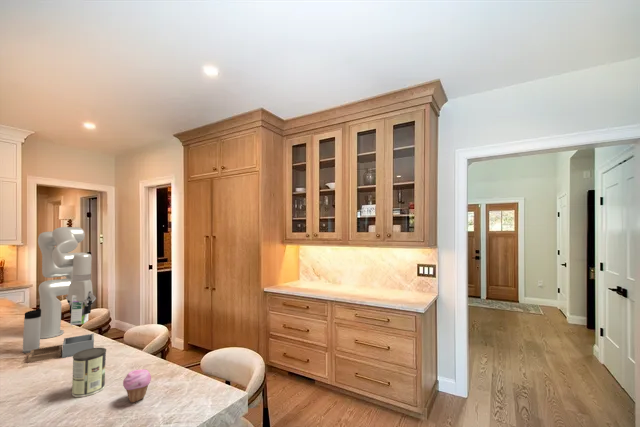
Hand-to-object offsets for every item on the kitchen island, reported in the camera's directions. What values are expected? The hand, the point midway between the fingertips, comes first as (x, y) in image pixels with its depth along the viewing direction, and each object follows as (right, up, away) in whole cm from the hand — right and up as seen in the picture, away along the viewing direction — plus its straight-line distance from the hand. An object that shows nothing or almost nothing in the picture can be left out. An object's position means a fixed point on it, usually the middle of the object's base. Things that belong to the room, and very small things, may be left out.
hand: (80, 313), depth 156 cm
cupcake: (+55, -17, -45) cm, 73 cm away
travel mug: (-24, -19, 0) cm, 31 cm away
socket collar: (-11, -19, -7) cm, 23 cm away
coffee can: (+33, -17, -39) cm, 54 cm away
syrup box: (0, -5, 0) cm, 5 cm away
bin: (0, -19, -1) cm, 19 cm away
